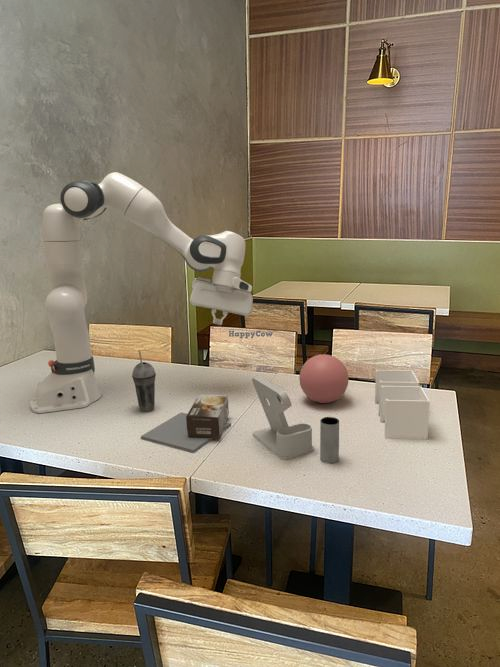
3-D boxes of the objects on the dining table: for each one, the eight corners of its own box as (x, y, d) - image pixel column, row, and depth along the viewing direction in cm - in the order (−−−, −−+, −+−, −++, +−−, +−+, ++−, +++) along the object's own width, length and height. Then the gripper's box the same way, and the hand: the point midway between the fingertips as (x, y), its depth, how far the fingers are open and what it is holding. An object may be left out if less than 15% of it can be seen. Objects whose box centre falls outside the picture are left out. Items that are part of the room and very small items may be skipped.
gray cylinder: (318, 455, 124) (318, 417, 121) (336, 453, 124) (336, 416, 122) (322, 464, 119) (322, 425, 117) (340, 462, 120) (341, 423, 117)
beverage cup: (163, 407, 157) (158, 347, 152) (149, 415, 151) (144, 353, 146) (144, 403, 160) (139, 345, 155) (130, 412, 154) (124, 351, 149)
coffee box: (199, 413, 149) (186, 437, 134) (198, 394, 148) (184, 416, 132) (229, 414, 148) (219, 438, 132) (228, 394, 146) (218, 416, 131)
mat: (181, 414, 151) (180, 412, 151) (230, 425, 142) (230, 423, 142) (141, 438, 136) (140, 436, 136) (193, 452, 127) (193, 450, 127)
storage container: (427, 440, 130) (429, 401, 128) (384, 438, 132) (386, 400, 129) (410, 403, 154) (412, 370, 152) (374, 402, 156) (375, 369, 153)
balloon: (360, 393, 163) (361, 348, 160) (335, 414, 147) (336, 365, 144) (318, 385, 172) (319, 343, 168) (290, 404, 156) (290, 358, 152)
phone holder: (316, 451, 126) (316, 385, 121) (282, 461, 121) (281, 393, 117) (281, 426, 141) (280, 366, 136) (250, 434, 136) (248, 373, 132)
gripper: (193, 274, 154) (184, 317, 153) (257, 287, 156) (248, 330, 156) (193, 277, 160) (185, 318, 160) (254, 289, 162) (246, 330, 162)
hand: (217, 324), depth 158 cm, fingers closed
